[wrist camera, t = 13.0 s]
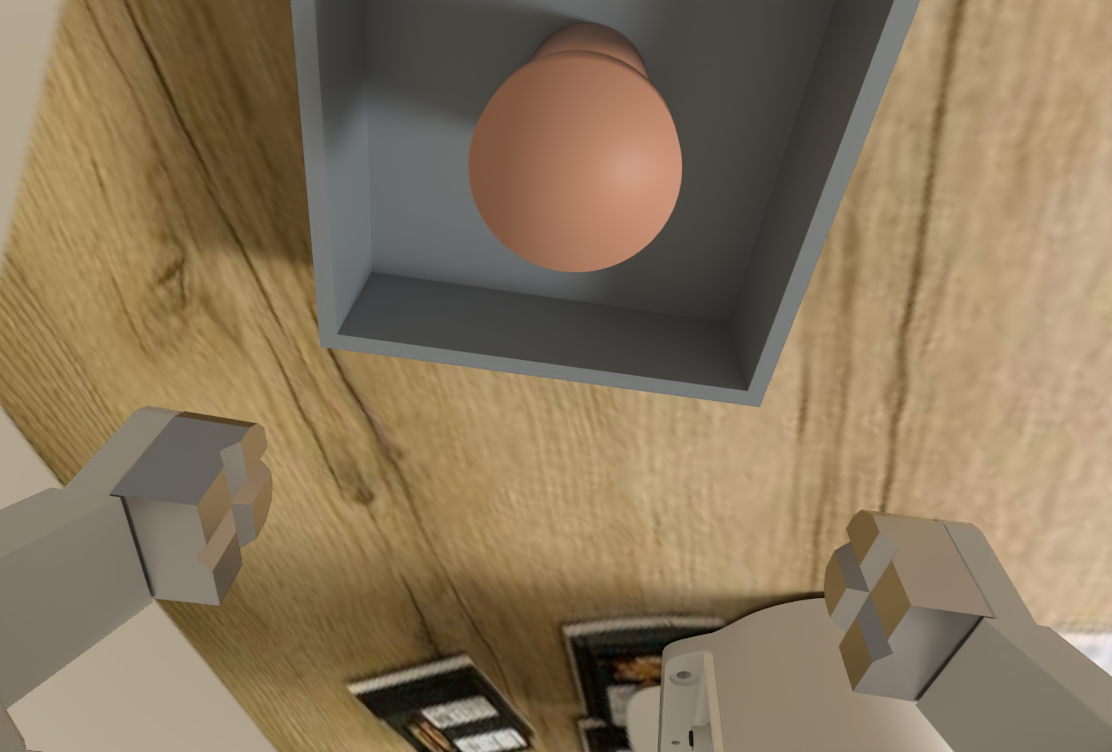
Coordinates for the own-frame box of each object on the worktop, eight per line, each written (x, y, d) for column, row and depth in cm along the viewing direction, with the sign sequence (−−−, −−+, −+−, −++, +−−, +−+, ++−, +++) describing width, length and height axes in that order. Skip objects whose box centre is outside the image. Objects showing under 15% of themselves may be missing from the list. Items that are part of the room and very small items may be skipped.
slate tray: (737, 329, 28) (759, 407, 24) (361, 276, 28) (320, 346, 24) (894, -132, 19) (971, -130, 15) (340, -224, 19) (269, -246, 15)
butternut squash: (684, 37, 21) (717, 101, 15) (631, 183, 24) (637, 295, 17) (534, -15, 21) (496, 28, 14) (496, 140, 24) (449, 239, 17)
